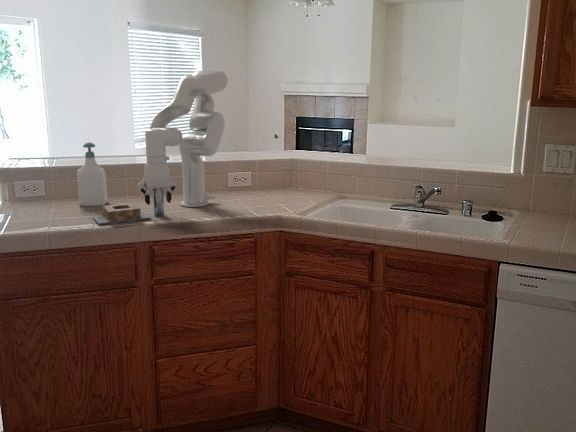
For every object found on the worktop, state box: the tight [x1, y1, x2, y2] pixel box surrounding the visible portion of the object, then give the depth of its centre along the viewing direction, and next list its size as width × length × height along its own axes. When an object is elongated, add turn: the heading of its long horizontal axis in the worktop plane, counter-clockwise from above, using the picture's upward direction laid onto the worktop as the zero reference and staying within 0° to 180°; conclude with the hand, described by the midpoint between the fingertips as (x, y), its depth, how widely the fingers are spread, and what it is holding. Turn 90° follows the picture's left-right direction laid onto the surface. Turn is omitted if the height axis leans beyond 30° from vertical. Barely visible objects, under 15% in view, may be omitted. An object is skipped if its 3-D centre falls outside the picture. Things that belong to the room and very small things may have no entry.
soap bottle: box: [76, 141, 109, 207], centre depth 242 cm, size 11×8×27 cm
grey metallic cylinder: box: [152, 188, 165, 218], centre depth 222 cm, size 4×4×12 cm
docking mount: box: [92, 202, 152, 227], centre depth 216 cm, size 20×12×5 cm, turn 119°
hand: (158, 202), depth 222 cm, fingers open, 7 cm apart
